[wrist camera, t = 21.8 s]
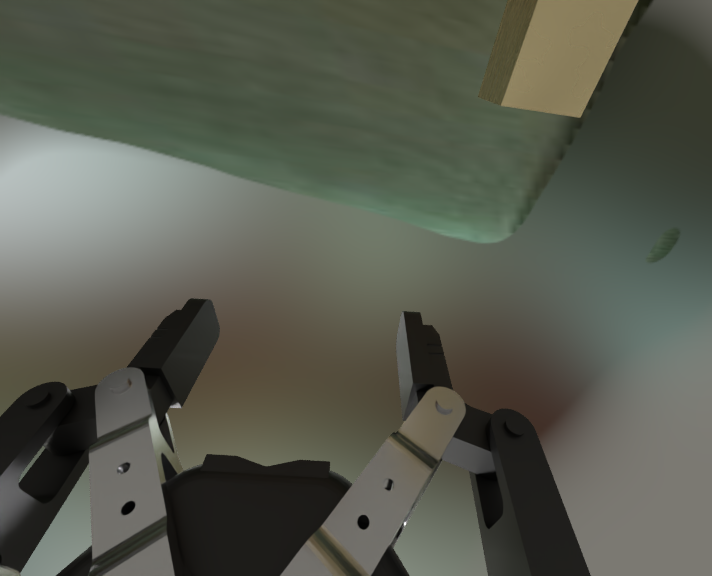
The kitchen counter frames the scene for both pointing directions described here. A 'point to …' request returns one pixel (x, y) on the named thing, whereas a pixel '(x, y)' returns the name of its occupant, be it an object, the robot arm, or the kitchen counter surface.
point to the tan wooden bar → (553, 53)
